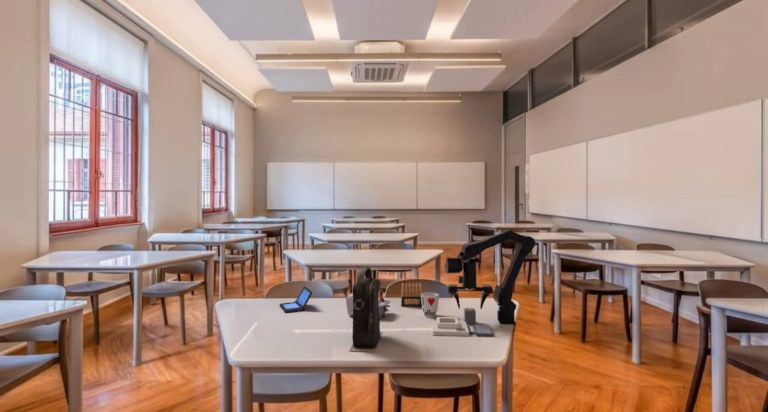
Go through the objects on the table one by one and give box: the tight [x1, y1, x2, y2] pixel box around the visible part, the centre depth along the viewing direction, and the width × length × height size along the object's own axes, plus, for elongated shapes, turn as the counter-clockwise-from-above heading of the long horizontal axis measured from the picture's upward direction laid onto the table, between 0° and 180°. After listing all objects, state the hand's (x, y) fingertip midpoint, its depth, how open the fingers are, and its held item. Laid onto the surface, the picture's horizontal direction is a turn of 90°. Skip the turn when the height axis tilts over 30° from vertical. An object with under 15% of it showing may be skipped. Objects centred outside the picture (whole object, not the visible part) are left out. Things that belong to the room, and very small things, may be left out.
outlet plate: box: [432, 316, 470, 337], centre depth 167 cm, size 14×14×4 cm
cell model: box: [345, 292, 391, 319], centre depth 190 cm, size 13×11×20 cm
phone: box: [472, 324, 494, 338], centre depth 165 cm, size 6×12×1 cm, turn 174°
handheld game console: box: [279, 286, 313, 314], centre depth 204 cm, size 16×13×9 cm
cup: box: [421, 292, 440, 318], centre depth 188 cm, size 8×8×10 cm
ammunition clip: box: [400, 282, 423, 308], centre depth 206 cm, size 11×2×12 cm, turn 85°
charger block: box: [463, 306, 477, 326], centre depth 176 cm, size 4×4×7 cm
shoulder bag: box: [348, 266, 383, 353], centre depth 155 cm, size 23×9×28 cm, turn 173°
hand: (470, 308), depth 176 cm, fingers open, 9 cm apart
